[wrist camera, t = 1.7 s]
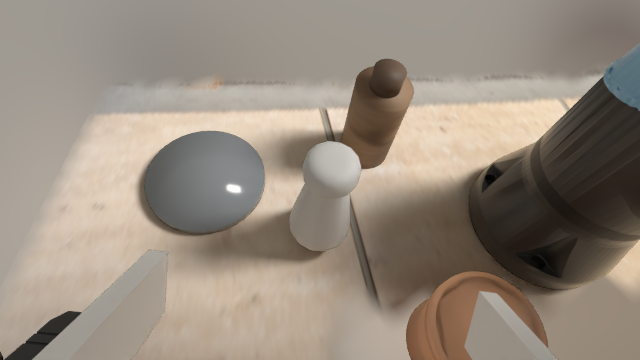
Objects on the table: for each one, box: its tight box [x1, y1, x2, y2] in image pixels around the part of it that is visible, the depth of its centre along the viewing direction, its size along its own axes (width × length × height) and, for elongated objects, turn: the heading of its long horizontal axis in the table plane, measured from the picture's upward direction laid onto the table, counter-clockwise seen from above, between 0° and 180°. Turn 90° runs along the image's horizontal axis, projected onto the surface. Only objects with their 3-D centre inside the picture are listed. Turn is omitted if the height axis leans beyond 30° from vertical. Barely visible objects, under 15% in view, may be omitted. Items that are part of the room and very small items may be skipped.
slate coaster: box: [144, 131, 265, 234], centre depth 38 cm, size 12×12×1 cm
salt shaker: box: [289, 141, 361, 251], centre depth 31 cm, size 6×6×13 cm
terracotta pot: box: [406, 271, 548, 360], centre depth 29 cm, size 9×9×7 cm
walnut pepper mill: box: [340, 59, 414, 169], centre depth 38 cm, size 6×6×12 cm
